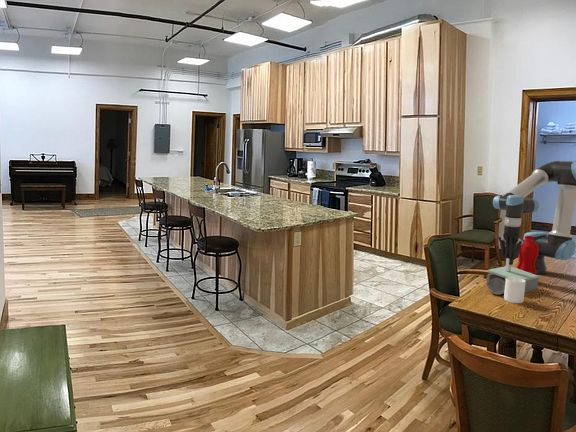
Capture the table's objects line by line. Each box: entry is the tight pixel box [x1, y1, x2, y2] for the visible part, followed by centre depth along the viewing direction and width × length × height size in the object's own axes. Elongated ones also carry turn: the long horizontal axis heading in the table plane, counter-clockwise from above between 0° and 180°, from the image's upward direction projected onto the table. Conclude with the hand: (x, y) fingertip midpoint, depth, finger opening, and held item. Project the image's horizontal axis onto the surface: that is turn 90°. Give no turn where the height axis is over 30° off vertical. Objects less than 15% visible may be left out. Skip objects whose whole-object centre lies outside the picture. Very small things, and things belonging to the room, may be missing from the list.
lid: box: [487, 265, 539, 281], centre depth 229 cm, size 18×16×1 cm
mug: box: [487, 278, 505, 295], centre depth 220 cm, size 10×8×10 cm
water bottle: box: [516, 236, 539, 275], centre depth 241 cm, size 9×11×25 cm
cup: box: [503, 277, 526, 304], centre depth 211 cm, size 8×12×10 cm
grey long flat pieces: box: [485, 273, 539, 293], centre depth 230 cm, size 18×16×6 cm
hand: (508, 270), depth 231 cm, fingers closed
